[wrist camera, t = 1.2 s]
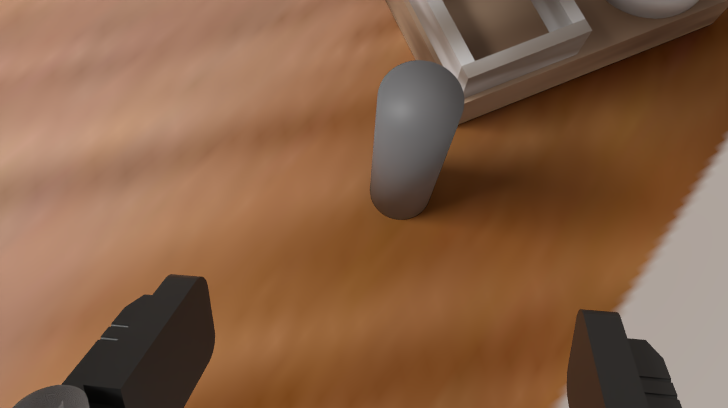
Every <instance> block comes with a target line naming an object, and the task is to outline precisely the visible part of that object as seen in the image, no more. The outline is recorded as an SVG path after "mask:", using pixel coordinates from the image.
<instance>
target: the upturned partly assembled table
mask: <svg viewBox="0 0 728 408" xmlns="http://www.w3.org/2000/svg"><path fill="white" fill-rule="evenodd" d="M386 2H387V4H388V6H389V8H390V10H391V12H392V14H393V16H394V18H395V20H396V22H397V24H398V26H399V28H400V30H401V32H402V34H403V36H404V38H405V40H406V42H407V44H408V46H409V47H410V49H411V51H412V53H413V55H414V57H415V59H416V60H424V61H430V62H434V63H437V64H439V65H441V66H443V67H445V68H446V69H448V70H449V71H450V72H451V73H452V74H453V75H454V76H455V77H456V78H457V79H458V81H459V83H460V84H461V87H462V89H463V93H464V110H463V113H462V116H461V118H460V121H459V124H461V123H463V122H466V121H468V120H471V119H473V118H476V117H479V116H481V115H484V114H486V113H489V112H491V111H494V110H496V109H499V108H501V107H504V106H506V105H509V104H511V103H514V102H516V101H519V100H521V99H524V98H526V97H529V96H531V95H534V94H537V93H539V92H542V91H544V90H547V89H549V88H552V87H554V86H557V85H559V84H562V83H564V82H567V81H569V80H572V79H574V78H577V77H579V76H582V75H584V74H587V73H589V72H592V71H594V70H597V69H600V68H602V67H605V66H607V65H610V64H612V63H615V62H617V61H620V60H622V59H625V58H627V57H630V56H632V55H635V54H637V53H640V52H642V51H645V50H647V49H650V48H652V47H655V46H658V45H660V44H663V43H665V42H668V41H670V40H673V39H675V38H678V37H680V36H683V35H685V34H688V33H690V32H693V31H695V30H698V29H700V28H703V27H705V26H708V25H710V24H712V23H713V22H714V21H715V20H716V19H717V18H718V17H719V16H720V15H721V14H722V13H723V12H724V11H725V10H726V9H727V8H728V0H386Z"/></svg>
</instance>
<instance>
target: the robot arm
mask: <svg viewBox="0 0 728 408" xmlns="http://www.w3.org/2000/svg"><path fill="white" fill-rule="evenodd" d="M214 343H215V330H214V324H213V317H212V310H211V304H210V297H209V291H208V285H207V282H206V280H205V278H204V277H197V276H185V275H173V274H171V275H169V276H167V277H166V278H165V280H164V281H163V282H162V283H161V285H160V286H159V287H158V289H157V290H156V291H155V292H154V294H153V295H143V296H142V297H140V298H139V299H137V300H135V301H134V302H132V303H131V304H129V305H128V306H126V307H125V308H124V309H123V310H122V311H121V313H120V314H119V315H118V316H117V317H116V319H115V320H114V321H113V322H112V325H111V327H108V328H107V330H106V331H105V332H104V333H103V335H102V336H101V339H100V340H98V341H97V342H96V343H95V344H94V345H93V347H92V348H91V349H90V350H89V352H88V353H87V354H86V355H85V356H84V358H83V359H82V360H81V361H80V363H79V364H78V365H77V366H76V367H75V369H74V370H73V371H72V372H71V374H70V375H69V376H68V377H67V378H66V380H65V381H64V382H63V383H62V385H55V386H50V387H46V388H43V389H40V390H37V391H35V392H33V393H31V394H29V395H28V396H26V397H24V398H23V399H22V400H20V401H19V402H18V403H17V404H16V405H15V406H14V407H13V408H184V406H185V404H186V402H187V401H188V399H189V397H190V395H191V393H192V392H193V390H194V388H195V386H196V384H197V383H198V381H199V379H200V377H201V375H202V374H203V372H204V370H205V368H206V366H207V365H208V363H209V361H210V359H211V356H212V353H213V349H214ZM567 397H568V403H569V408H682V407H681V404H680V401H679V400H677V393H676V391H675V388H674V386H673V383H671V378H670V375H669V372H668V370H667V367H666V365H665V362H664V359H663V358H662V357H661V356H660V355H659V354H658V353H657V352H656V351H655V350H654V349H653V347H652V346H651V345H650V344H649V343H648V342H647V341H646V340H638V339H628V338H627V336H626V333H625V330H624V327H623V324H622V321H621V317H620V315H619V313H618V312H606V311H594V310H582V309H580V310H579V311H578V314H577V318H576V324H575V330H574V335H573V341H572V347H571V352H570V358H569V364H568V371H567Z"/></svg>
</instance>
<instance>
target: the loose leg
mask: <svg viewBox="0 0 728 408" xmlns="http://www.w3.org/2000/svg"><path fill="white" fill-rule="evenodd" d="M463 110H464V93H463V89H462V87H461V84H460V83H459V81H458V79H457V78H456V77H455V76H454V75H453V74H452V73H451V72H450V71H449V70H448V69H446V68H445V67H443V66H441V65H439V64H437V63H434V62H430V61H424V60H416V61H409V62H405V63H403V64H400V65H398V66H396V67H395V68H393V69H392V70H391V71H390V72H389V73H388V74H387V75H386V76H385V77H384V79H383V80H382V82H381V84H380V87H379V90H378V98H377V110H376V122H375V134H374V146H373V158H372V171H371V183H370V195H371V199H372V202H373V204H374V206H375V207H376V208H377V209H378V210H379V211H380V212H381V213H382V214H384V215H385V216H387V217H389V218H392V219H398V220H404V219H409V218H412V217H415V216H417V215H418V214H419V213H421V212H422V211H423V210H424V209H425V207H426V206H427V204H428V202H429V199H430V197H431V194H432V191H433V189H434V186H435V184H436V181H437V178H438V176H439V173H440V171H441V168H442V165H443V163H444V160H445V157H446V155H447V152H448V150H449V147H450V144H451V142H452V139H453V137H454V134H455V131H456V129H457V126H458V124H459V121H460V118H461V116H462V113H463Z"/></svg>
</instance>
